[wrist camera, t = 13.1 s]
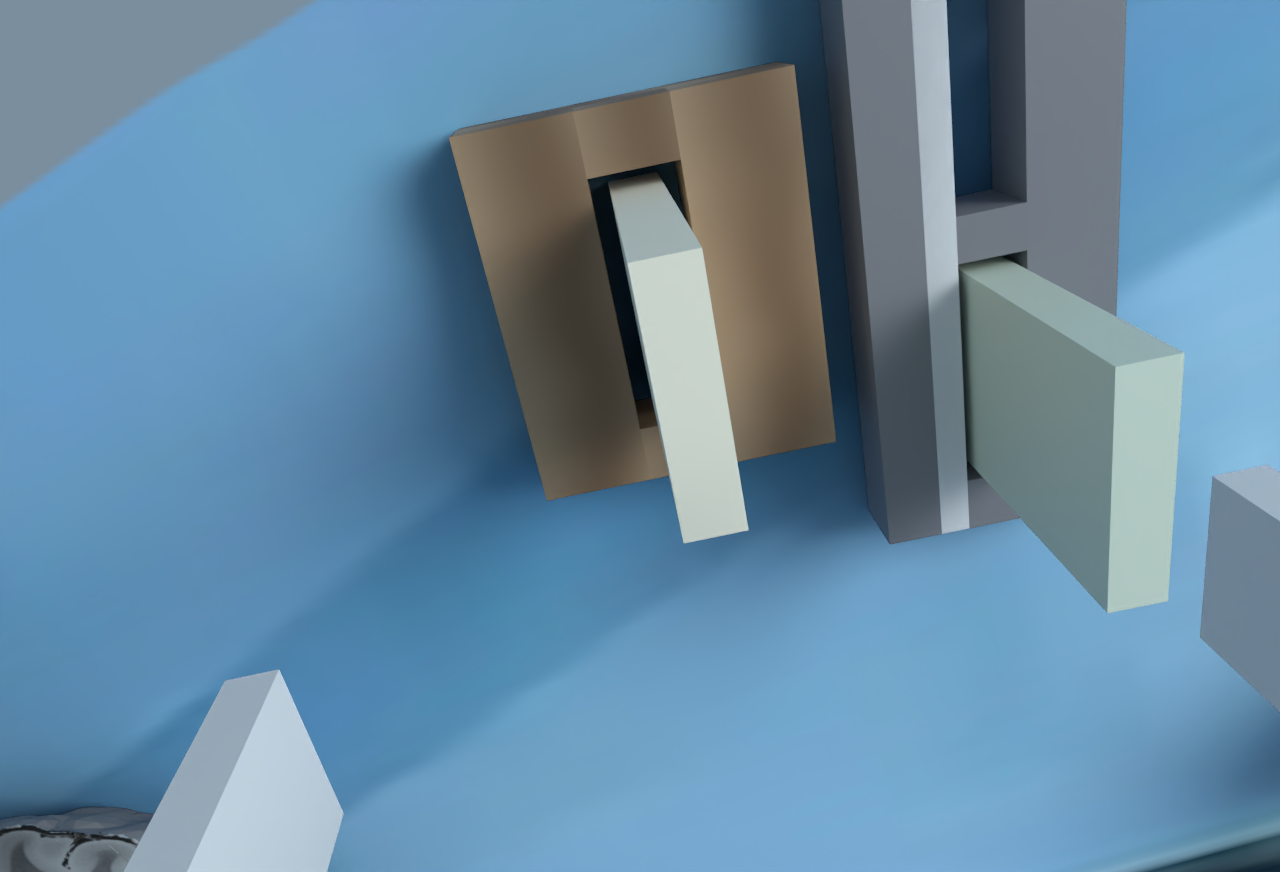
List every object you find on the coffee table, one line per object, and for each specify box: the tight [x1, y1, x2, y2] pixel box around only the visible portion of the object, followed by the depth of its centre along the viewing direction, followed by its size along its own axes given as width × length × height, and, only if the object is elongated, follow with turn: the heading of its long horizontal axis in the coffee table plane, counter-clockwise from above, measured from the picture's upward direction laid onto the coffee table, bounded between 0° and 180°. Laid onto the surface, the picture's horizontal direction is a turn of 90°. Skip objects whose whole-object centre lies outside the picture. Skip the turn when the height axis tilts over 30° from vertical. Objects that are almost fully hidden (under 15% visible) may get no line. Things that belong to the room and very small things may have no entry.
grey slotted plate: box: [819, 0, 1127, 544], centre depth 29 cm, size 8×21×2 cm, turn 11°
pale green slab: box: [608, 172, 748, 543], centre depth 25 cm, size 2×7×11 cm, turn 11°
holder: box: [449, 62, 836, 501], centre depth 29 cm, size 10×12×2 cm
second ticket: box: [958, 256, 1185, 613], centre depth 27 cm, size 2×7×11 cm, turn 11°
